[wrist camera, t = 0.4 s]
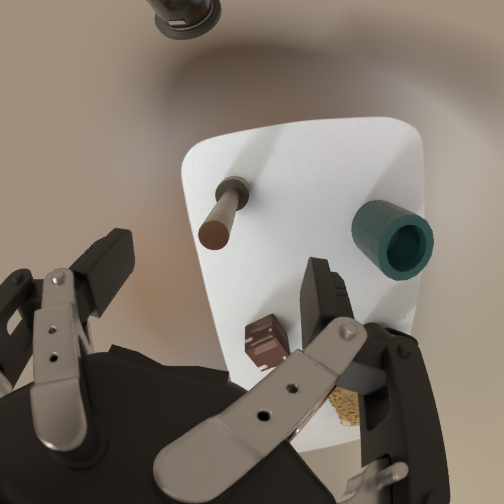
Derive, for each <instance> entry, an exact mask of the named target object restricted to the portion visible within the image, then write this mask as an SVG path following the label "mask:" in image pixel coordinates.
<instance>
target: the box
mask: <svg viewBox="0 0 504 504" xmlns="http://www.w3.org/2000/svg"><path fill="white" fill-rule="evenodd" d="M245 353H246V354H247V355H248V356H249V357H250V359H251V360H252V361H253V362H254V363H255V365H256V366H257V367H258V368H259V369H260V370H261V371H265V370H267V369H270V368H272V367H276V366H278V365H279V364H280V363H281V362H283V361H284V360H285V359H286V358H287V357H288V356H289V355H290V349H289V343H288V337H287V334H286V332H285V331H284V329H283V328H282V327H281V325H280V324H279V322H278V321H277V319H276V318H275V316H274V315H273V314H271V315H269V316H267V317H265V318H262V319H260V320H258V321H256V322H254V323H252V324H250V325H248V326H246V327H245Z"/></svg>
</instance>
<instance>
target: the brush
mask: <svg viewBox="0 0 504 504" xmlns="http://www.w3.org/2000/svg"><path fill="white" fill-rule="evenodd" d="M215 197H216V201H217V204H216V205H215V207H214V208H213V209H212V211H211V212H210V214H209V215H208V217H207V218H206V220H205V221H204V223H203V224H202V226H201V227H200V229H199V233H198V236H199V240H200V242H201V244H202V245H203V246H204V247H206V248H207V249H210V250H219V249H221V248H223V247H224V246H225V245H226V244H227V242H228V240H229V236H230V232H231V228H232V225H233V221H234V217H235V213H236V211H238V210H241V209H242V208H243V207H244V206H245V205H246V204H247V202H248V199H249V186H248V184H247V182H246V181H245V180H244V179H242V178H241V177H238V176H231V177H228V178H226V179H225V180H224V181H223V182H221V183H220V184H219V186H218V187H217V189H216V193H215Z"/></svg>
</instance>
